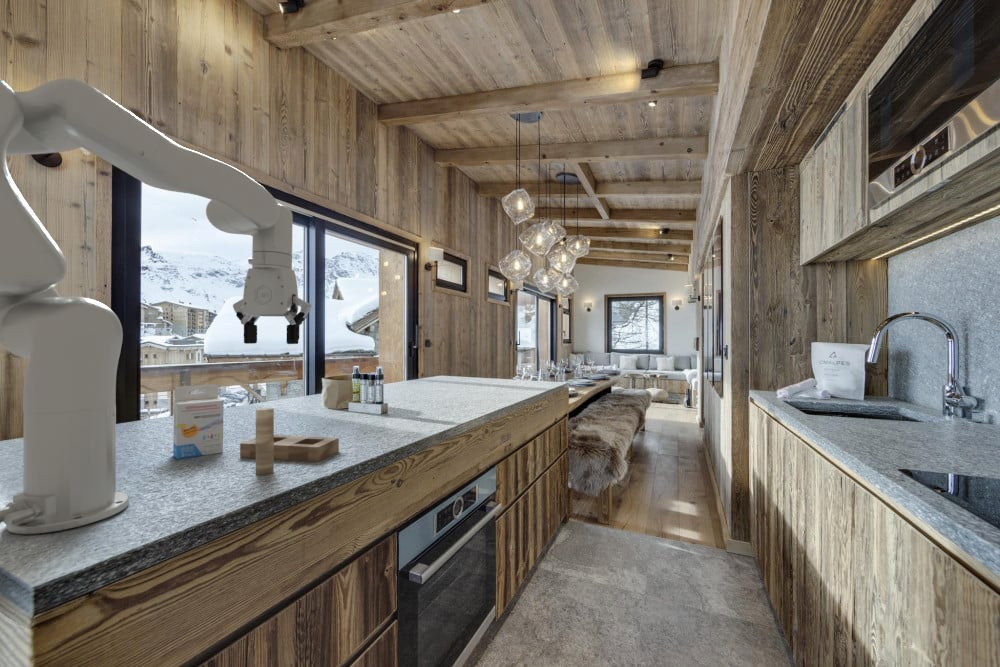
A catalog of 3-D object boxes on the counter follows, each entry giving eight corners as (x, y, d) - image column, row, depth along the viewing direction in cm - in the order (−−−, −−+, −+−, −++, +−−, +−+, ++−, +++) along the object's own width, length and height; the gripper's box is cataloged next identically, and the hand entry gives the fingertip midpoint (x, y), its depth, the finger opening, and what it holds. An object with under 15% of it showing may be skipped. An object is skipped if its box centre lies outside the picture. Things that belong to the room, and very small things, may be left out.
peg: (266, 475, 81) (266, 411, 81) (251, 474, 81) (252, 410, 81) (277, 470, 84) (277, 408, 84) (263, 469, 84) (263, 407, 84)
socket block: (318, 461, 89) (318, 447, 89) (240, 457, 92) (240, 443, 92) (338, 451, 97) (338, 437, 97) (266, 447, 100) (266, 434, 100)
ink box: (176, 460, 90) (176, 389, 90) (172, 455, 94) (173, 387, 94) (224, 452, 96) (224, 385, 96) (218, 448, 100) (219, 383, 100)
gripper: (222, 260, 90) (221, 343, 90) (300, 259, 88) (298, 344, 88) (247, 266, 97) (246, 343, 97) (320, 265, 95) (319, 343, 95)
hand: (271, 343), depth 92 cm, fingers open, 9 cm apart
